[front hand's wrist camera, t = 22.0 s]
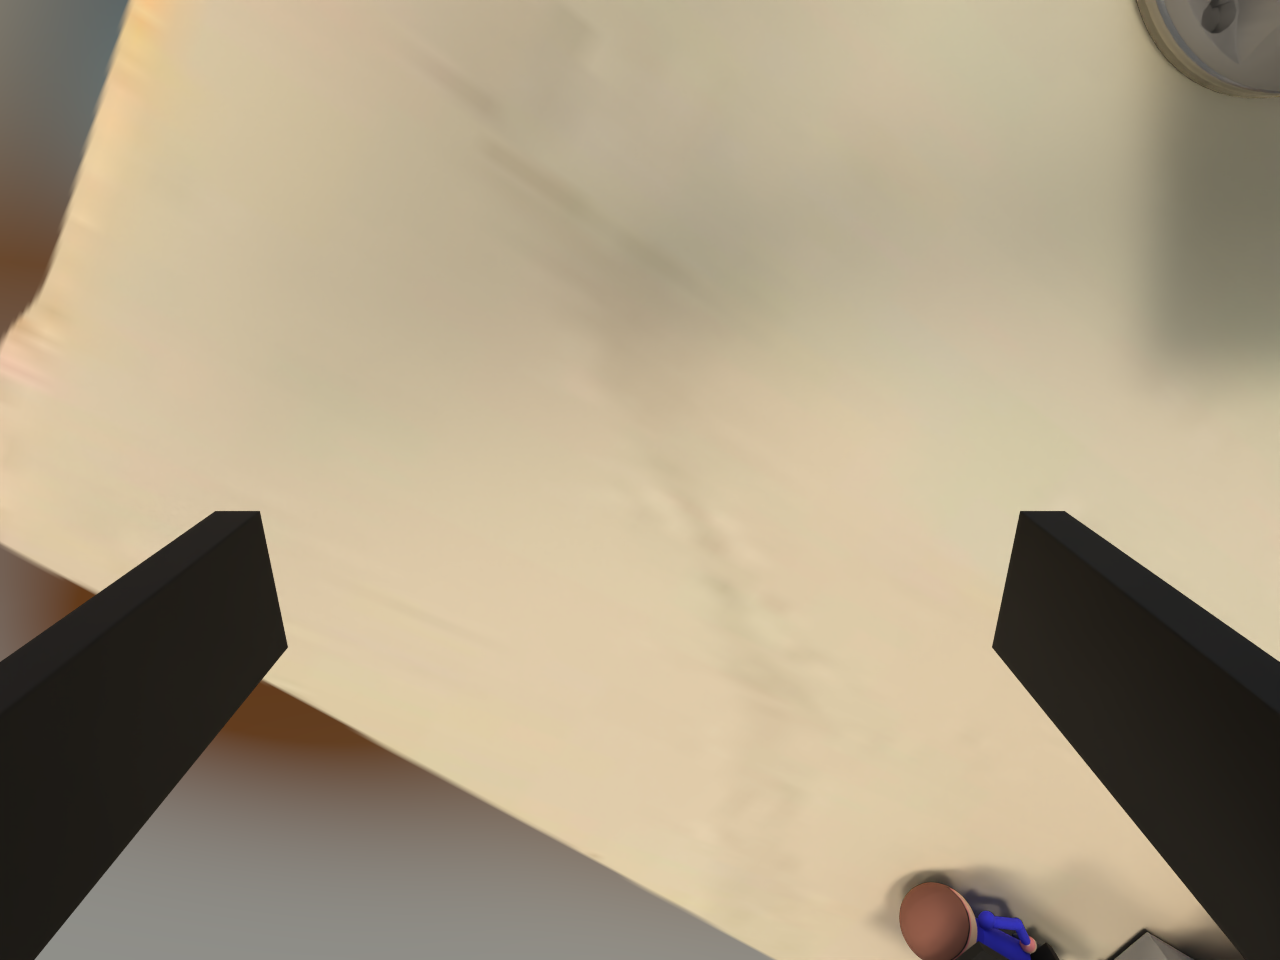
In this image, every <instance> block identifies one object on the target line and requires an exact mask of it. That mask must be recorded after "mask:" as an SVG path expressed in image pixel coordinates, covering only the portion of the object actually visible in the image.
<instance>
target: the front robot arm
mask: <svg viewBox="0 0 1280 960" xmlns="http://www.w3.org/2000/svg"><path fill="white" fill-rule="evenodd" d="M1136 1H1137V5H1138V8H1139V11H1140V13H1141V16H1142V19H1143V21H1144V24H1145V26H1146V28H1147V30H1148V32H1149V34H1150V36H1151V37H1152V39H1153V41H1154V42H1155V44H1156V46H1157V47H1158V49H1159V50H1160V51H1161V52H1162V54H1163V55H1164V56H1165V57H1166V59H1167V60H1168V61H1169V62H1170V63H1171V64H1172V65H1173V66H1174V67H1175V68H1177V69H1178V70H1179V71H1180V72H1181V73H1183V74H1184V75H1185V76H1187V77H1188V78H1189V79H1191V80H1193V81H1194V82H1196V83H1198V84H1200V85H1202V86H1203V87H1206V88H1208V89H1211V90H1213V91H1216V92H1219V93H1223V94H1227V95H1231V96H1237V97H1244V98H1271V97H1280V0H1136ZM287 648H288V646H287V641H286V636H285V631H284V626H283V621H282V617H281V612H280V607H279V602H278V597H277V592H276V587H275V583H274V578H273V573H272V568H271V563H270V558H269V554H268V549H267V544H266V539H265V534H264V529H263V524H262V520H261V515H260V511H215V512H214V513H212V514H211V515H209V516H208V517H206V518H205V519H204V520H202V521H201V522H199V523H198V524H196V525H195V526H194V527H192V528H191V529H189V530H188V531H186V532H185V533H184V534H182V535H181V536H179V537H178V538H176V539H175V540H174V541H172V542H171V543H169V544H168V545H166V546H165V547H164V548H162V549H161V550H159V551H158V552H156V553H155V554H154V555H152V556H151V557H149V558H148V559H147V560H145V561H144V562H142V563H141V564H139V565H138V566H137V567H135V568H134V569H132V570H131V571H129V572H128V573H127V574H125V575H124V576H122V577H121V578H119V579H118V580H117V581H115V582H114V583H112V584H111V585H109V586H108V587H107V588H105V589H104V590H102V591H101V592H99V593H98V594H97V595H95V596H94V597H92V598H91V599H90V600H88V601H87V602H85V603H84V604H82V605H81V606H80V607H78V608H77V609H75V610H74V611H72V612H71V613H70V614H68V615H67V616H65V617H64V618H62V619H61V620H60V621H58V622H57V623H55V624H54V625H53V626H51V627H50V628H48V629H47V630H45V631H44V632H43V633H41V634H40V635H38V636H37V637H35V638H34V639H32V640H31V641H30V642H28V643H27V644H25V645H24V646H22V647H21V648H20V649H18V650H17V651H15V652H14V653H13V654H11V655H10V656H8V657H7V658H5V659H4V660H3V661H1V662H0V960H34V959H35V958H36V957H37V956H38V955H39V953H40V952H41V951H42V950H43V948H44V947H45V946H46V945H47V943H48V942H49V941H50V940H51V939H52V937H53V936H54V935H55V934H56V932H57V931H58V930H59V929H60V927H61V926H62V925H63V924H64V923H65V921H66V920H67V919H68V918H69V916H70V915H71V914H72V913H73V911H74V910H75V909H76V908H77V906H78V905H79V904H80V903H81V902H82V900H83V899H84V898H85V897H86V895H87V894H88V893H89V892H90V890H91V889H92V888H93V887H94V886H95V884H96V883H97V882H98V881H99V879H100V878H101V877H102V876H103V874H104V873H105V872H106V871H107V870H108V868H109V867H110V866H111V865H112V863H113V862H114V861H115V860H116V858H117V857H118V856H119V855H120V854H121V852H122V851H123V850H124V849H125V847H126V846H127V845H128V844H129V842H130V841H131V840H132V839H133V837H134V836H135V835H136V834H137V833H138V831H139V830H140V829H141V828H142V826H143V825H144V824H145V823H146V821H147V820H148V819H149V818H150V817H151V815H152V814H153V813H154V812H155V810H156V809H157V808H158V807H159V805H160V804H161V803H162V802H163V801H164V799H165V798H166V797H167V796H168V794H169V793H170V792H171V791H172V789H173V788H174V787H175V786H176V784H177V783H178V782H179V781H180V780H181V778H182V777H183V776H184V775H185V773H186V772H187V771H188V770H189V768H190V767H191V766H192V765H193V763H194V762H195V761H196V760H197V759H198V757H199V756H200V755H201V754H202V752H203V751H204V750H205V749H206V747H207V746H208V745H209V744H210V743H211V741H212V740H213V739H214V738H215V736H216V735H217V734H218V733H219V732H220V730H221V729H222V728H223V727H224V725H225V724H226V723H227V722H228V720H229V719H230V718H231V717H232V715H233V714H234V713H235V712H236V711H237V709H238V708H239V707H240V706H241V704H242V703H243V702H244V701H245V699H246V698H247V697H248V696H249V695H250V693H251V692H252V691H253V690H254V688H255V687H256V686H257V685H258V683H259V682H260V681H261V680H262V679H263V677H264V676H265V675H266V674H267V672H268V671H269V670H270V669H271V667H272V666H273V665H274V664H275V663H276V661H277V660H278V659H279V658H280V656H281V655H282V654H283V653H284V651H285V650H286V649H287ZM992 648H993V649H994V650H995V651H996V653H997V654H998V655H999V656H1000V658H1001V659H1002V660H1003V661H1004V663H1005V664H1006V665H1007V666H1008V667H1009V669H1010V670H1011V671H1012V672H1013V674H1014V675H1015V676H1016V677H1017V679H1018V680H1019V681H1020V682H1021V683H1022V685H1023V686H1024V687H1025V688H1026V690H1027V691H1028V692H1029V693H1030V695H1031V696H1032V697H1033V698H1034V699H1035V701H1036V702H1037V703H1038V704H1039V706H1040V707H1041V708H1042V709H1043V711H1044V712H1045V713H1046V714H1047V716H1048V717H1049V718H1050V719H1051V720H1052V722H1053V723H1054V724H1055V725H1056V727H1057V728H1058V729H1059V730H1060V732H1061V733H1062V734H1063V735H1064V736H1065V738H1066V739H1067V740H1068V741H1069V743H1070V744H1071V745H1072V746H1073V748H1074V749H1075V750H1076V751H1077V752H1078V754H1079V755H1080V756H1081V757H1082V759H1083V760H1084V761H1085V762H1086V764H1087V765H1088V766H1089V767H1090V768H1091V770H1092V771H1093V772H1094V773H1095V775H1096V776H1097V777H1098V778H1099V780H1100V781H1101V782H1102V783H1103V785H1104V786H1105V787H1106V788H1107V789H1108V791H1109V792H1110V793H1111V794H1112V796H1113V797H1114V798H1115V799H1116V801H1117V802H1118V803H1119V804H1120V805H1121V807H1122V808H1123V809H1124V810H1125V812H1126V813H1127V814H1128V815H1129V817H1130V818H1131V819H1132V820H1133V821H1134V823H1135V824H1136V825H1137V826H1138V828H1139V829H1140V830H1141V831H1142V833H1143V834H1144V835H1145V836H1146V838H1147V839H1148V840H1149V841H1150V842H1151V844H1152V845H1153V846H1154V847H1155V849H1156V850H1157V851H1158V852H1159V854H1160V855H1161V856H1162V857H1163V858H1164V860H1165V861H1166V862H1167V863H1168V865H1169V866H1170V867H1171V868H1172V870H1173V871H1174V872H1175V873H1176V874H1177V876H1178V877H1179V878H1180V879H1181V881H1182V882H1183V883H1184V884H1185V886H1186V887H1187V888H1188V889H1189V890H1190V892H1191V893H1192V894H1193V895H1194V897H1195V898H1196V899H1197V900H1198V902H1199V903H1200V904H1201V905H1202V907H1203V908H1204V909H1205V910H1206V911H1207V913H1208V914H1209V915H1210V916H1211V918H1212V919H1213V920H1214V921H1215V923H1216V924H1217V925H1218V926H1219V927H1220V929H1221V930H1222V931H1223V932H1224V934H1225V935H1226V936H1227V937H1228V939H1229V940H1230V941H1231V942H1232V943H1233V945H1234V946H1235V947H1236V948H1237V950H1238V951H1239V952H1240V953H1241V955H1242V956H1243V957H1244V958H1245V959H1246V960H1280V662H1279V661H1277V660H1276V659H1275V658H1273V657H1272V656H1270V655H1269V654H1268V653H1266V652H1265V651H1263V650H1262V649H1260V648H1259V647H1258V646H1256V645H1255V644H1253V643H1252V642H1250V641H1249V640H1248V639H1246V638H1245V637H1243V636H1242V635H1240V634H1239V633H1238V632H1236V631H1235V630H1233V629H1232V628H1230V627H1229V626H1228V625H1226V624H1225V623H1223V622H1222V621H1220V620H1219V619H1218V618H1216V617H1215V616H1213V615H1212V614H1210V613H1209V612H1208V611H1206V610H1205V609H1203V608H1202V607H1200V606H1199V605H1198V604H1196V603H1195V602H1193V601H1192V600H1191V599H1189V598H1188V597H1186V596H1185V595H1183V594H1182V593H1181V592H1179V591H1178V590H1176V589H1175V588H1173V587H1172V586H1171V585H1169V584H1168V583H1166V582H1165V581H1163V580H1162V579H1161V578H1159V577H1158V576H1156V575H1155V574H1153V573H1152V572H1151V571H1149V570H1148V569H1146V568H1145V567H1143V566H1142V565H1141V564H1139V563H1138V562H1136V561H1135V560H1133V559H1132V558H1131V557H1129V556H1128V555H1126V554H1125V553H1124V552H1122V551H1121V550H1119V549H1118V548H1116V547H1115V546H1114V545H1112V544H1111V543H1109V542H1108V541H1106V540H1105V539H1104V538H1102V537H1101V536H1099V535H1098V534H1096V533H1095V532H1094V531H1092V530H1091V529H1089V528H1088V527H1086V526H1085V525H1084V524H1082V523H1081V522H1079V521H1078V520H1076V519H1075V518H1074V517H1072V516H1071V515H1069V514H1068V513H1066V512H1065V511H1020V515H1019V520H1018V524H1017V529H1016V534H1015V539H1014V544H1013V549H1012V554H1011V558H1010V563H1009V568H1008V573H1007V578H1006V583H1005V587H1004V592H1003V597H1002V602H1001V607H1000V612H999V617H998V621H997V626H996V631H995V636H994V641H993V646H992Z"/></svg>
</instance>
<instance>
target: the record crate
mask: <svg viewBox="0 0 1280 960" xmlns="http://www.w3.org/2000/svg"><path fill="white" fill-rule="evenodd" d="M1114 960H1193V959H1192V958H1190V957H1188V956H1187V955H1185V954H1183V953H1182V952H1180V951H1178V950H1177V949H1175V948H1173V947H1172V946H1170V945H1168V944H1167V943H1165V942H1163V941H1162V940H1160V939H1158V938H1157V937H1155V936H1153V935H1151V934H1150V933H1148V932H1146V933H1145V934H1144V935H1143V936H1142V937H1140V938H1139V939H1138V940H1137V941H1136V942H1134V943H1133V944H1132V945H1131V946H1130V947H1128V948H1127V949H1126V950H1125V951H1124V952H1122V953H1121V954H1120V955H1119V956H1118V957H1116V958H1115V959H1114Z"/></svg>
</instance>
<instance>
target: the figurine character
mask: <svg viewBox="0 0 1280 960" xmlns="http://www.w3.org/2000/svg"><path fill="white" fill-rule="evenodd" d="M899 919H900V927H901V931H902V934H903V936H904V939H905V941H906V942H907V944H908V946H909V947H910V948H911V950H912V951H913V952H914V953H915V954H916V955H917V956H918V957H920V958H921V959H922V960H1059V958H1058V957H1057V955H1056V953H1055V952H1054V950H1053V948H1052V947H1051V946H1050V945H1049V944H1047V943H1044V944H1043V945H1042V946H1041V944H1040V943H1038V942H1036V941H1035V940H1034V939H1033V938H1032V937H1030V936H1028V934H1027V932H1026V930H1025V928H1024V925H1023V923H1022V921H1021V920H1020V919H1018V918H1009V917H998V916H994V915H993V914H992V913H991V912H990V911H983V912H981V913H980V914H979V916H978V919H977V918H975V916H974V914H973V911H972V909H971V907H970V906H969V904H968V903H967V901H966V900H965V899H964V898H963V897H962V896H961V895H960V894H959V893H958V892H957V891H955V890H954V889H952V888H950V887H949V886H946V885H944V884H940V883H934V882H929V883H923V884H920V885H918V886H916V887H914V888H913V889H911V890H910V891H909V892H908V893H907V895H906V896H905V898H904V899H903V902H902V904H901V908H900V915H899ZM999 929H1007V930H1015V931H1016V933H1013V934H1012V936H1010V935H1008V934H1006V933H1004V932H1002V931H1001V930H999ZM1030 953H1031V954H1030Z"/></svg>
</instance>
